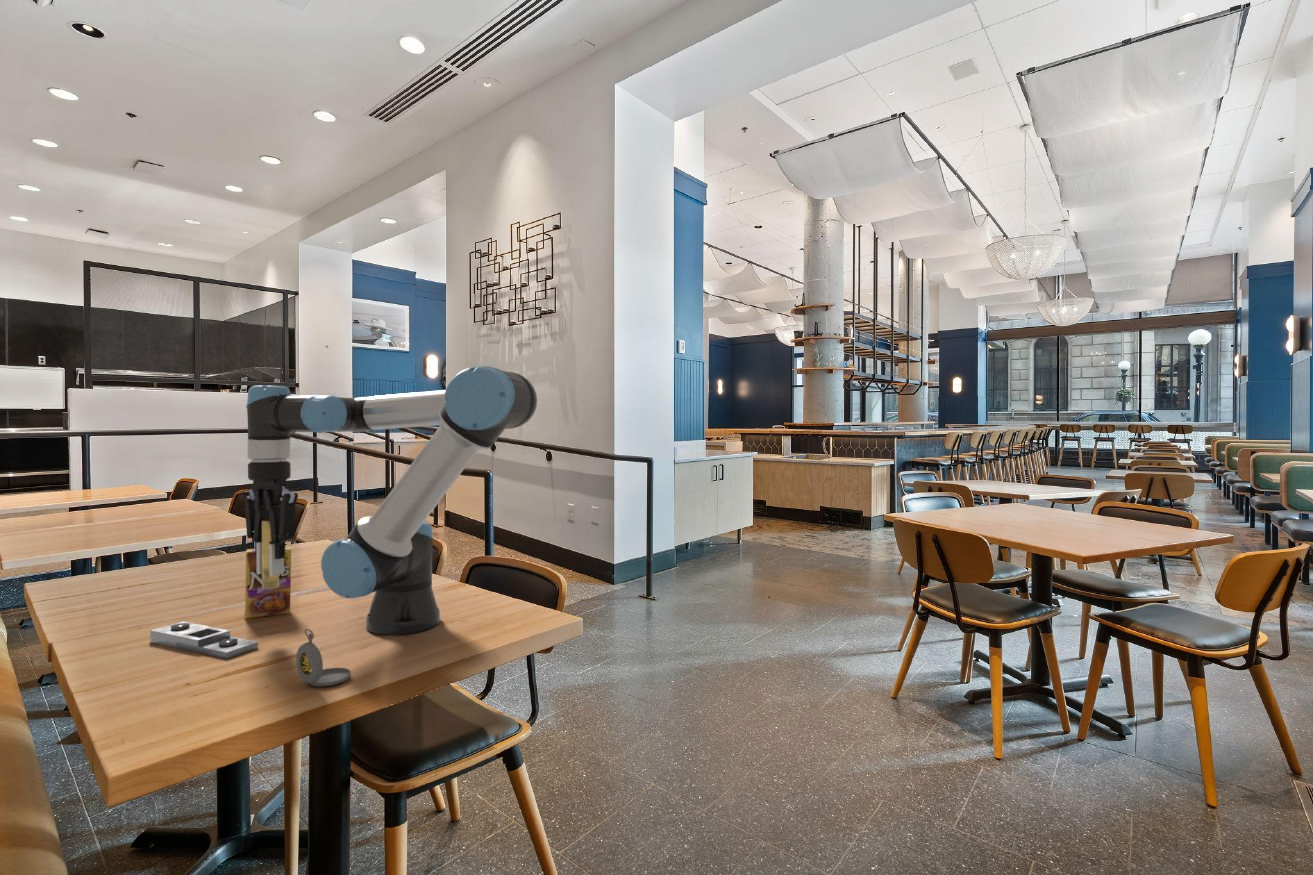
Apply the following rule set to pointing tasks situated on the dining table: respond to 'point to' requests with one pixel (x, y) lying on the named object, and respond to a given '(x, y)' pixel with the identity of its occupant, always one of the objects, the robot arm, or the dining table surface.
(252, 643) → the metal latch plate
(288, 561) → the candy box
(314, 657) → the pocket watch
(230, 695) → the dining table surface
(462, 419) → the robot arm
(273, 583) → the link pin
